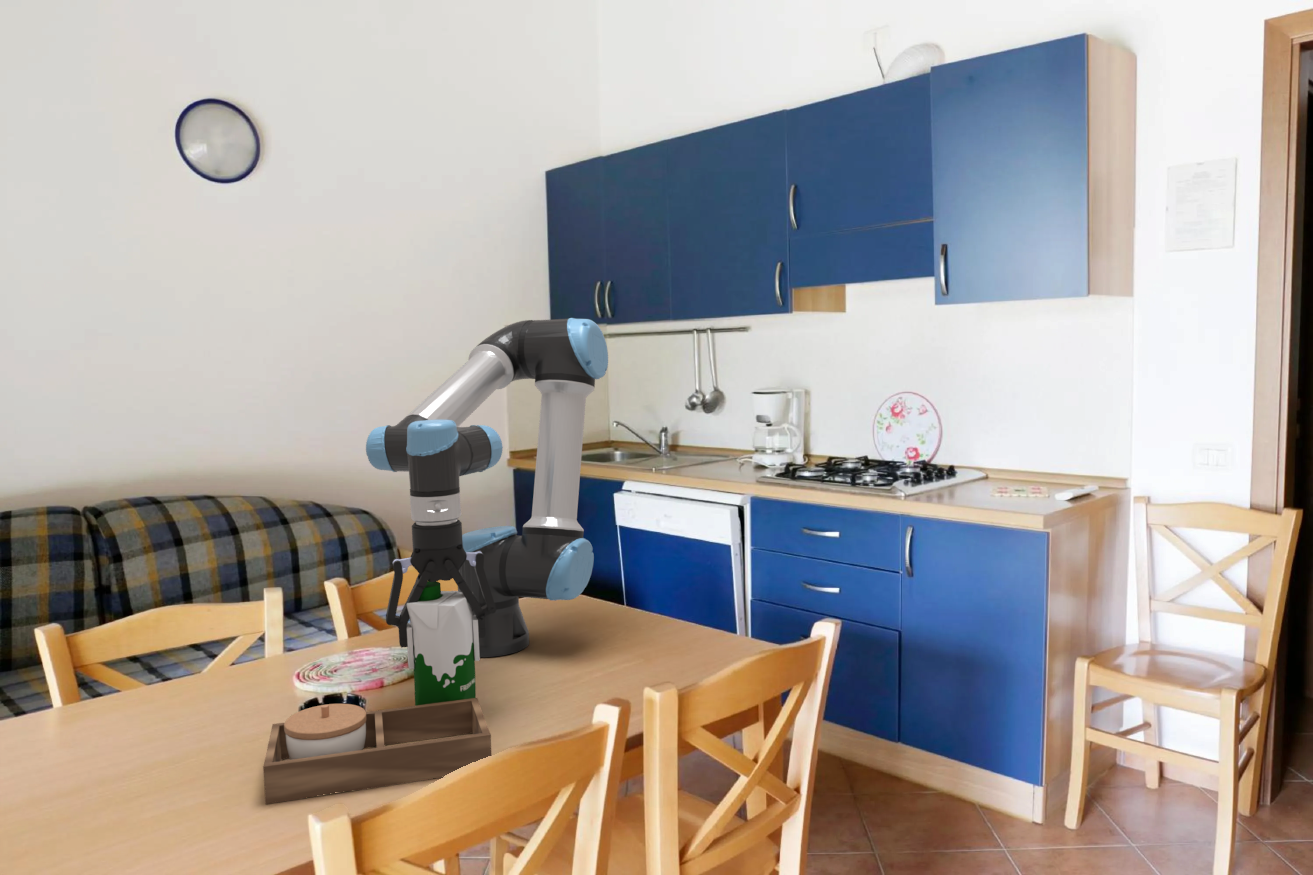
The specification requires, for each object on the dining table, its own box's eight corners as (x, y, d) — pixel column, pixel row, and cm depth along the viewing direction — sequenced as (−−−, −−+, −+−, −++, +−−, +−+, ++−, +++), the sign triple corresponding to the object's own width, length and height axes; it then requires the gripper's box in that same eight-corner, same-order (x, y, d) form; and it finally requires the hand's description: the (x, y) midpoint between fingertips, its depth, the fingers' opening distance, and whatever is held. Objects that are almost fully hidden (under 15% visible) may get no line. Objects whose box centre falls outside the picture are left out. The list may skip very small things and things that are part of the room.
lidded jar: (299, 757, 137) (296, 693, 136) (376, 753, 138) (372, 690, 137) (276, 791, 126) (272, 722, 126) (359, 786, 127) (355, 718, 126)
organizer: (274, 757, 137) (272, 723, 137) (478, 729, 146) (477, 697, 145) (265, 804, 123) (263, 766, 122) (492, 769, 131) (490, 734, 131)
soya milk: (431, 697, 155) (425, 576, 153) (484, 699, 153) (478, 578, 151) (407, 718, 147) (399, 591, 144) (462, 721, 145) (456, 592, 143)
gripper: (362, 531, 140) (371, 679, 142) (511, 518, 146) (518, 660, 149) (361, 522, 147) (370, 663, 149) (504, 510, 154) (510, 646, 156)
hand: (444, 662), depth 149 cm, fingers closed on soya milk, 9 cm apart
